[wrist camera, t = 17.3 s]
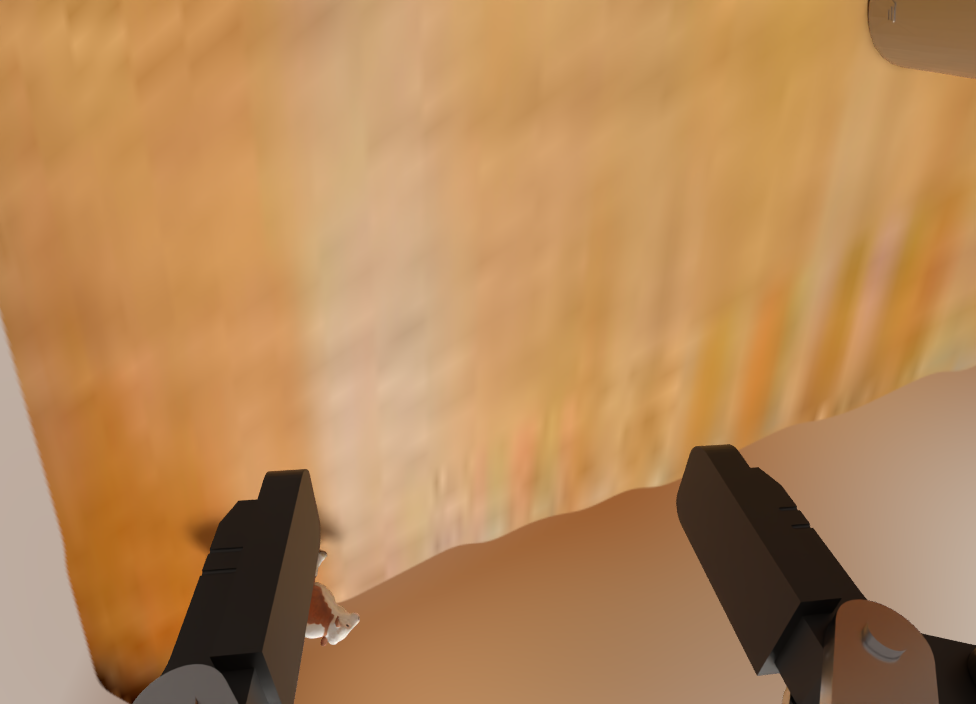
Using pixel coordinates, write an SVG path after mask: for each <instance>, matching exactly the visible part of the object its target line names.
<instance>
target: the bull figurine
mask: <svg viewBox="0 0 976 704" xmlns="http://www.w3.org/2000/svg"><path fill="white" fill-rule="evenodd" d="M326 557H327V554H326V553H325V552H319V555H318V561H317V567H316V573H315V577H316V576H317V572H318V567H319V566H320V564H321V562H322V561H323V560H324V559H325V558H326ZM359 621H360V619H359V615H358V614H357V613H351V614H350V613H348V612H347V611H346V610H345V609H344V608H343V607H342V606H340V605H338V604H336V602H335V598H334V596H333V594H332V593H331V592H330V590H328V589H327V588H326V586H325V585H322V584H320V583H318V582H315V579H314V585H313V591H312V597H311V603H310V609H309V615H308V621H307V627H306V633H305V637H308V638H318V637H323V638H322V640H321V645H322V646H325V645H326V644H327V643H328V642H329V643H330V644H333V645H334V644H336V643H337V642H338V641H341V640H342V639H344V638H345V637H346V636H347V634H348V633H349V632H350V631H351V629H353V628H354V626H355V625H357V623H358V622H359Z"/></svg>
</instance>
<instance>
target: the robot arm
mask: <svg viewBox="0 0 976 704" xmlns="http://www.w3.org/2000/svg"><path fill="white" fill-rule="evenodd" d="M868 19H869V29H870V34H871V37H872V40H873V43H874V46H875V47H876V49H877V50H878V51H879V53H880V54H881V56H882V57H883V58H885V59H886V60H888V61H889V62H891V63H892V64H895V65H898V66H901V67H905V68H911V69H917V70H924V71H930V72H936V73H943V74H949V75H954V76H960V77H966V78H973V79H976V0H870V3H869V14H868ZM676 501H677V502H676V504H677V513H678V517H679V520H680V523H681V525H682V527H683V529H684V531H685V533H686V535H687V537H688V539H689V541H690V543H691V545H692V547H693V549H694V551H695V553H696V555H697V557H698V559H699V561H700V563H701V565H702V567H703V569H704V571H705V573H706V575H707V577H708V579H709V581H710V583H711V585H712V587H713V589H714V591H715V593H716V595H717V597H718V599H719V601H720V603H721V605H722V607H723V609H724V611H725V613H726V615H727V617H728V619H729V621H730V623H731V624H732V626H733V628H734V631H735V633H736V635H737V637H738V639H739V641H740V642H741V645H742V646H743V649H744V651H745V652H746V654H747V657H748V659H749V660H750V662H751V664H752V666H753V668H754V670H755V672H756V674H757V676H759V675H768V674H777V673H780V674H781V676H782V678H783V680H784V682H785V684H786V685H787V687H786V689H785V691H784V693H783V697H782V704H976V645H972V644H967V643H962V642H957V641H953V640H949V639H944V638H939V637H935V636H930V635H926V634H922V633H920V631H918V629H917V628H916V627H915V626H914V625H913V624H911V623H910V622H909V621H908V620H907V619H906V618H904V617H903V616H902V615H900V614H899V613H897V612H896V611H894V610H892V609H891V608H888V607H886V606H884V605H882V604H879V603H877V602H873V601H869V600H867V599H866V598H865V597H864V595H863V594H862V593H861V592H860V590H859V589H858V588H857V586H856V585H855V584H854V582H853V581H852V580H851V578H850V577H849V576H848V574H847V573H846V571H845V570H844V569H843V567H842V566H841V565H840V563H839V562H838V561H837V559H836V558H835V557H834V556H833V554H832V553H831V551H830V550H829V549H828V547H827V546H826V545H825V543H824V542H823V541H822V539H821V538H820V537H819V535H818V534H817V533H816V531H815V530H814V529H813V528H810V524H809V522H808V521H807V519H806V518H805V517H804V515H803V514H802V512H801V511H800V510H797V506H796V504H795V503H794V502H793V500H792V499H791V498H790V496H789V495H788V494H787V492H786V491H785V490H784V488H783V487H782V486H781V485H780V484H779V483H778V482H776V481H775V480H774V479H773V478H771V477H770V476H769V475H768V474H766V473H765V472H764V471H762V470H761V469H760V468H758V467H757V468H750V467H749V465H748V464H747V463H746V461H745V460H744V458H743V457H742V455H741V454H740V453H739V451H738V450H737V449H736V448H735V447H734V446H732V445H730V444H727V445H711V446H696V447H694V448H693V449H692V450H691V453H690V455H689V459H688V462H687V465H686V468H685V471H684V474H683V478H682V481H681V484H680V487H679V490H678V494H677V500H676ZM319 548H320V521H319V515H318V511H317V506H316V501H315V497H314V492H313V487H312V483H311V478H310V474H309V471H308V470H307V469H301V470H285V471H269V472H267V473H266V475H265V477H264V480H263V483H262V487H261V490H260V493H259V496H258V500H244V501H238V502H237V503H236V504H235V506H234V507H233V508H232V509H231V510H230V511H229V513H228V514H227V515H226V516H225V517H224V519H223V520H222V521H221V522H220V523H219V525H218V528H217V531H216V534H215V536H214V539H213V542H212V545H211V547H210V554H208V556H207V558H206V561H205V564H204V567H203V569H202V576H200V578H199V580H198V583H197V586H196V589H195V591H194V594H193V597H192V600H191V602H190V605H189V608H188V611H187V613H186V616H185V619H184V622H183V624H182V627H181V630H180V633H179V635H178V638H177V641H176V644H175V646H174V649H173V652H172V655H171V657H170V660H169V662H168V664H167V666H166V668H165V670H164V671H163V673H162V675H161V676H160V677H159V678H158V679H156V680H155V681H154V682H152V683H151V684H150V685H149V686H148V687H147V688H146V689H144V690H143V691H142V693H141V694H140V695H139V696H138V697H137V698H136V700H135V701H134V703H133V704H294V698H295V692H296V686H297V681H298V674H299V668H300V662H301V656H302V651H303V645H304V638H305V633H306V627H307V621H308V615H309V609H310V603H311V597H312V591H313V585H314V579H315V573H316V567H317V561H318V555H319Z"/></svg>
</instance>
